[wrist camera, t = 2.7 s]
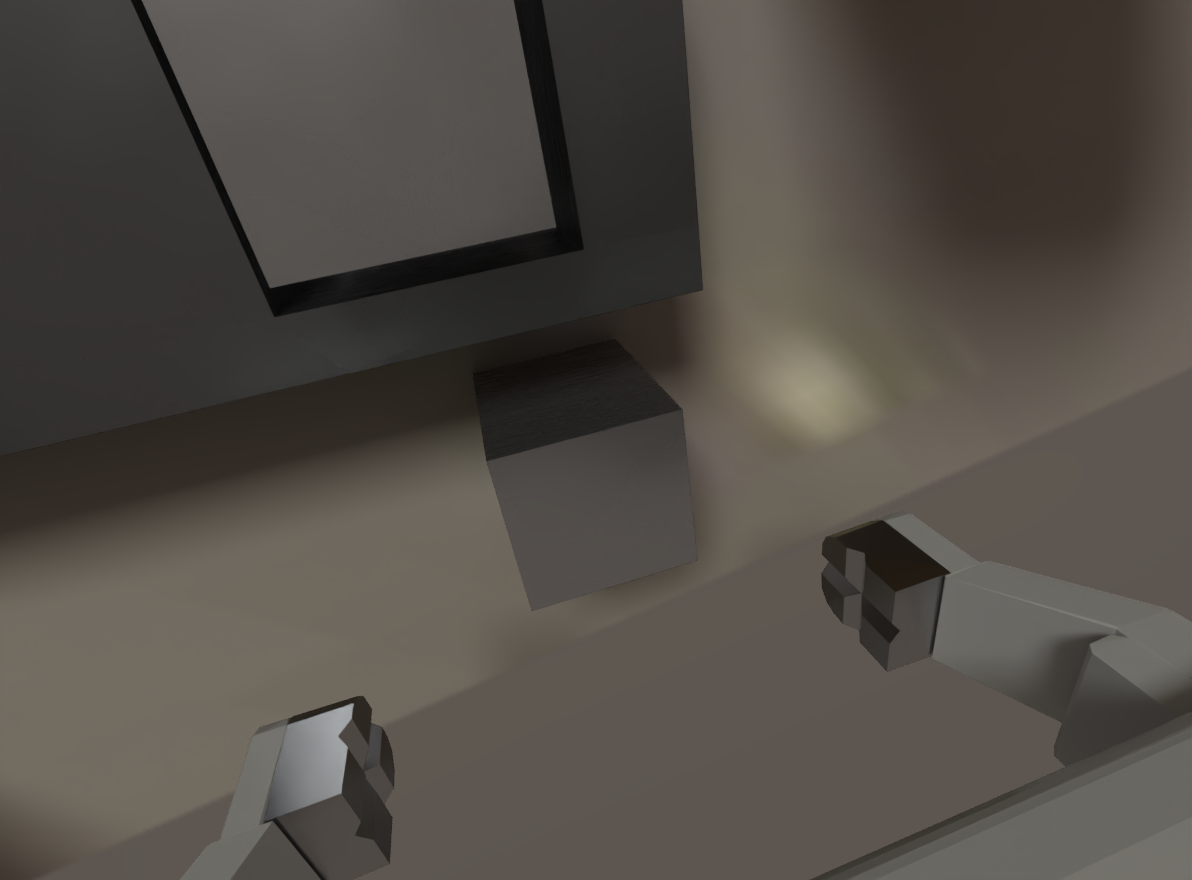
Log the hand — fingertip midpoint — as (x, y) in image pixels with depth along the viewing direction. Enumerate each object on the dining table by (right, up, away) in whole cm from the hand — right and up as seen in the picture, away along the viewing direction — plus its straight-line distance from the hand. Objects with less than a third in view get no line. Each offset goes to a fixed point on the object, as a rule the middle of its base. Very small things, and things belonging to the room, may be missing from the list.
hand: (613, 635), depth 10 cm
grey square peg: (-4, +10, +2) cm, 11 cm away
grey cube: (-1, +4, +7) cm, 8 cm away
